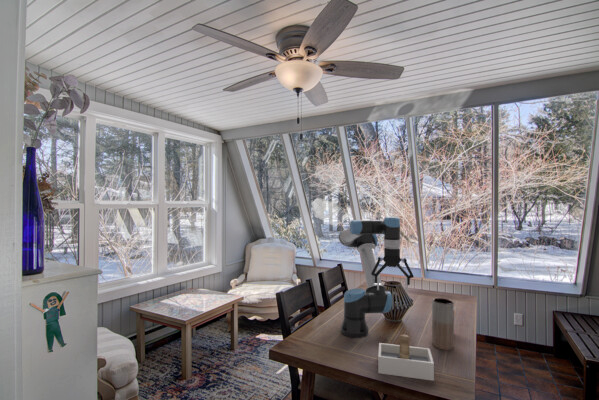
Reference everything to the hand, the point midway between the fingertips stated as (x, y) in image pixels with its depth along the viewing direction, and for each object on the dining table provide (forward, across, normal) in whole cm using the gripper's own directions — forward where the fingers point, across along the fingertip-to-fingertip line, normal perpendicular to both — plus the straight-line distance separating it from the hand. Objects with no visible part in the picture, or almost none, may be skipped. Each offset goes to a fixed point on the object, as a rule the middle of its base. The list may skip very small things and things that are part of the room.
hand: (392, 290), depth 160 cm
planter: (+29, +25, +10) cm, 39 cm away
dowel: (+29, +5, -19) cm, 35 cm away
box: (+29, +5, -19) cm, 35 cm away
